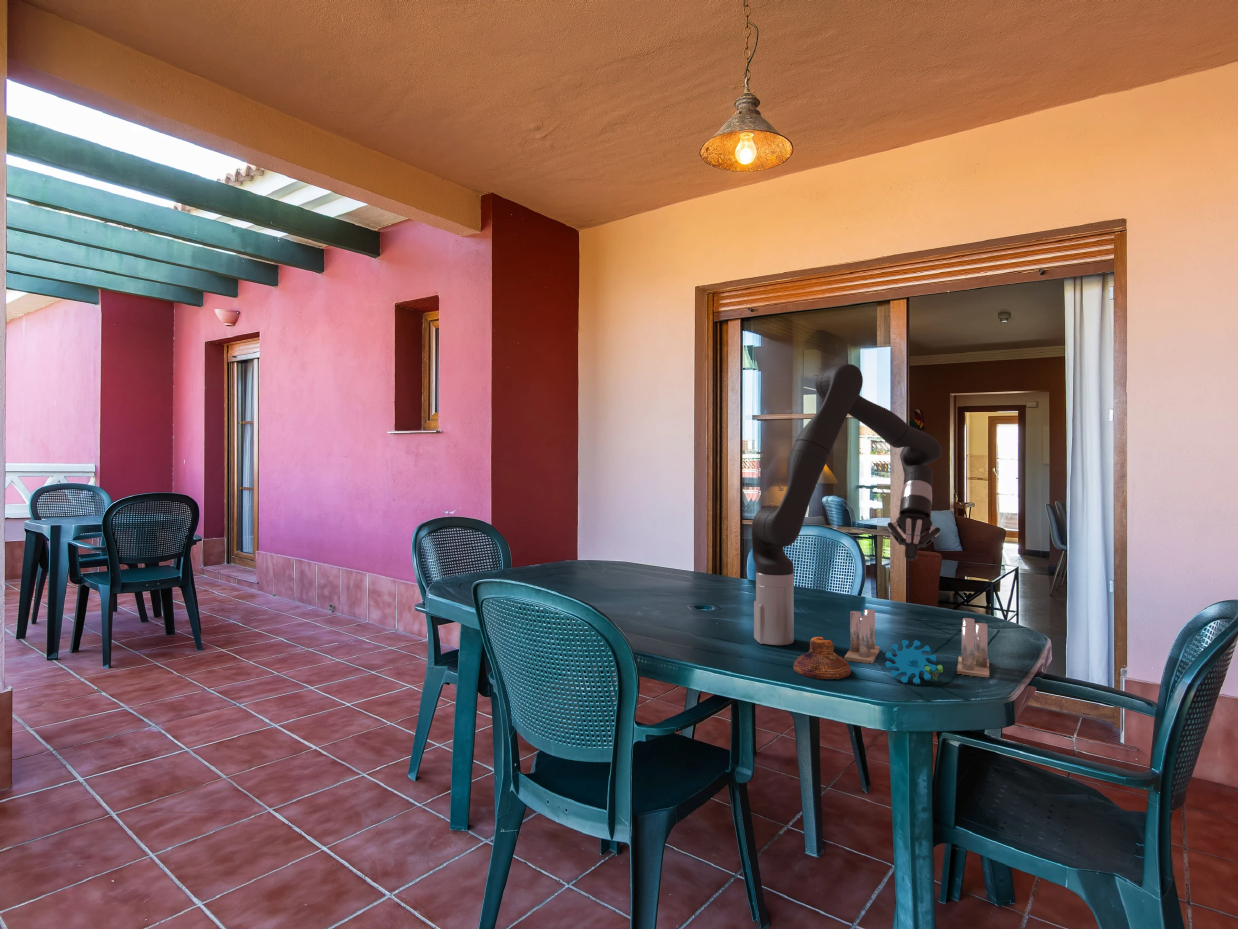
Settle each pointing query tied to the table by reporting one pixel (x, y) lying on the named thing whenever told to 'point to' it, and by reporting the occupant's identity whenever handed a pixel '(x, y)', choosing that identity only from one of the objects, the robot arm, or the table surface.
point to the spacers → (971, 638)
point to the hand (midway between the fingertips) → (910, 559)
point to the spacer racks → (976, 672)
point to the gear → (913, 662)
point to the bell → (821, 661)
